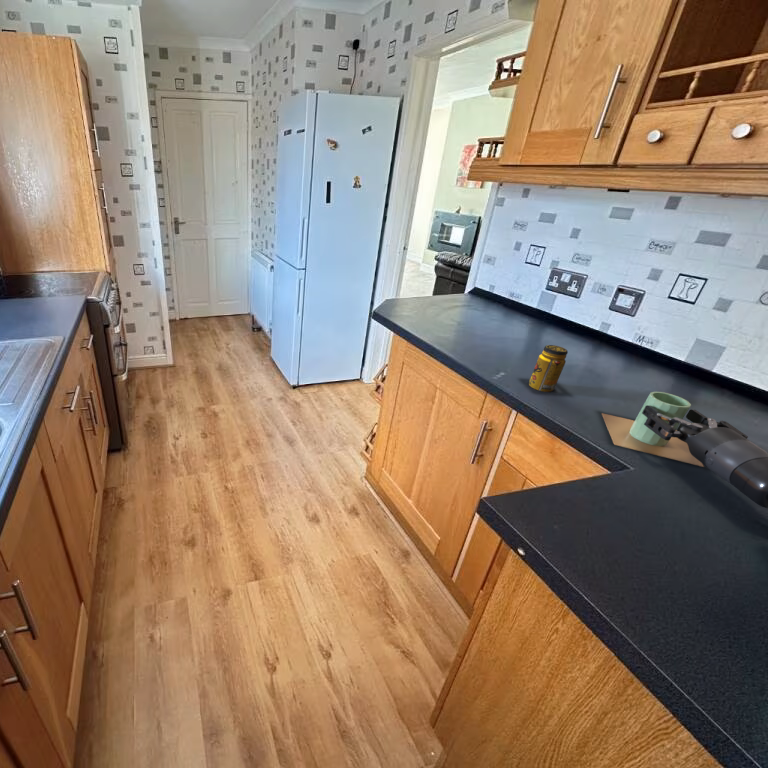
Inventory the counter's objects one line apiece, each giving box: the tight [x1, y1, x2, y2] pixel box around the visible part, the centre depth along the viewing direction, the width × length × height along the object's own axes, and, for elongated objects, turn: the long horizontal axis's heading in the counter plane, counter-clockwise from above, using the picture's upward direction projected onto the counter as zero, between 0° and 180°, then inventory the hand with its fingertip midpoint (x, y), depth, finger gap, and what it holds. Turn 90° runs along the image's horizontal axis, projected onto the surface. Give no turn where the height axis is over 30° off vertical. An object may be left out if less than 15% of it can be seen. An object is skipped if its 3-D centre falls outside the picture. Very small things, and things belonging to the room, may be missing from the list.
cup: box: [629, 391, 692, 446], centre depth 91 cm, size 7×7×10 cm
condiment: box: [528, 344, 568, 393], centre depth 111 cm, size 7×8×12 cm
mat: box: [601, 412, 705, 468], centre depth 93 cm, size 15×15×1 cm
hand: (667, 410), depth 89 cm, fingers open, 8 cm apart
